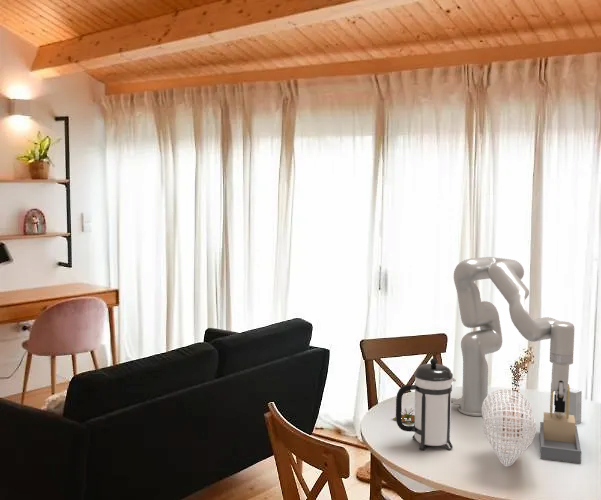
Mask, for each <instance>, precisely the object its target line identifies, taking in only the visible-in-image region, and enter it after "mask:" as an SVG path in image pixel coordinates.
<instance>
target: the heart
mask: <svg viewBox="0 0 601 500" xmlns="http://www.w3.org/2000/svg"><path fill="white" fill-rule="evenodd" d="M485 404H486V405H485ZM488 407H489V408H488ZM485 409H486V410H485ZM489 412H490V413H489ZM495 413H496V414H495ZM499 413H500V414H499ZM503 413H505V414H503ZM518 413H519V414H518ZM518 415H519V416H518ZM521 416H522V417H521ZM481 417H482V428H483V432H484V433H483V434H484V435H485V437H486V440H487V442H488V443H489V445H490V446H491V448H492V450H493V452H494V454H495V455H496V457H497V459H498V460H499V461H500V463H501V464H502V465H503V466H504V467H510V466H512V465H513V464H514V463H515V462H516V461H517V460H518V458H519V457H520V456H521V455H522V454H523V452H524V451H526V449H527V448H528V447H529V446H530V445H531V444H532V443H533V441H534V439H535V436H536V433H537V424H536V419H535V417H534V415H533V411H532V405H531V404H530V403H529V400H528V398H526V397H525V396H524V395H522V394H521V393H520V392H518V391H516V390H512V389H507V388H505V389H504V388H503V389H496V390H494V391H492V392H490V393H489V394H488V396H487V397H486V398H485V399H484V401H483V404H482V416H481ZM503 418H504V419H505V420H503ZM499 419H500V420H499ZM518 420H519V422H518ZM499 425H500V426H499ZM499 429H500V430H499ZM518 430H519V431H518ZM503 434H504V436H503ZM518 435H519V436H518ZM503 440H504V441H503Z"/></svg>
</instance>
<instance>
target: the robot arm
mask: <svg viewBox="0 0 601 500" xmlns="http://www.w3.org/2000/svg"><path fill="white" fill-rule="evenodd" d="M524 275H525V271H524V267H523V265H522V264H521V262H519V261H517V260H515V259H509V258H502V257H495V256H484V257H474V258H472V257H471V258H467V259H464V260H462V261H461V262H459V263H458V264H457V265H456V266H455V268H454V271H453V283H454V286H455V288H456V289H455V290H456V294H457V301H458V308H459V314H460V315H459V316H460V319H461V323H462V325H463V326H464V327H466V328H469V329H474V328H479V330H475V331H474V330H473V331H470V332H467V333H466V334H465V335H464V336H463V337H461V341H460V349H461V355H462V392H461V393H462V395H461V397H459V398H454V397H451V404H453V405H455V406H457V411H458V412H460V413H461V414H464V415H465V416H466V415H467V416H472V417H483V416H482V404H483V401H484V399H485V398H486V397H487V396H488V395H489V394H488V393H489V391H488V390H489V387H488V386H489V385H488V384H489V365H488V364H489V363H488V361H487V359H486V355H489V354H493V353H496V352H498V351H500V349H501V348H502V347H503V334H502V327H501V321H500V316H499V311H498V309H497V307H496V306H495V304H493V302H490V301H485V300H483V301H482V298H481V293H480V290H479V287H478V286H477V284H476V283H475V281H478V280H481V281H482V280H487V279H488V280H489V279H490V280H491V282H492V283H493V284H494V286H495V288H496V289H497V290H498V292H500V293H501V295H502V297H504V299H505V300H506V301H507V303H508V311H509V315H510V316H509V317H510V319H511V322H512V323H513V326H514V327H515V329H517V330H518V332H519V334H520V335H521V336H522V337H523V338H524V339H525V340H527V341H529V342H540V341H543V340H549V341H550V343H549V345H550V347H549V362H550V363H551V364H552V367H551V381H550V382H551V383H550V386H551V385H552V391H553V393H555V394H553V403H554V411H555V412H562V413H564V412H565V393H566V392H567V388H568V384H569V377H570V375H569V374H570V365H573V364H574V345H575V326H574V324H573V323H571V322H569V321H562V320H558V319H555V318H552V317H549V316H547V317H540V318H533V317H532V316H531V315H530V314H529V312H528V311H527V308H526V306H525V300H527V298H528V297H529V296H530V291H529V289H528V288H527V286H526V285H525V284H524V283H523V281H522V279H523V277H524ZM557 388H558V390H557ZM485 405H486V404H485ZM488 408H489V407H488ZM485 410H486V409H485ZM489 413H490V412H489Z"/></svg>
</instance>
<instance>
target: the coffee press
mask: <svg viewBox="0 0 601 500" xmlns="http://www.w3.org/2000/svg"><path fill="white" fill-rule="evenodd" d="M413 376H414V378H415V379H414V384H405V385H403V386H402V387H400V388H399V389H398V392H396V399H395V417H396V420H395V422H396V424H397V427H398V428H399V429H400V430H402V431H404V432H411V433H412V432H413V433H414V434H413V435H412V437H411V438H412V440H413V441H417V442H418V443H419V446H418V449H419V451H422V452H424V451H425V449H426V447H427V446H431V447H440V446H444V447H445V448H446V449H447V450H448V451H450V450H451V451H452V450H453V444H452V443H451V426H452V425H451V419H452V417H451V415H452V413H451V412H452V403H451V398H452V392H453V383H452V382H457V379H456V378H455V377H454V375H453V373H452V371H451V369H450V368H449V367H447V365H443V364H438V361H437V359H436V358H434V357H433V358H431V359H430V363H425V364H420V365H419V366H418V367H416V370H414V372H413ZM409 391H414V415H415V421H414V423H413V425H405V424H404V423H403V422H402V420H401V414H403V413H402V403H403V400H402V399H403V396H404V394H405V393H406V392H409Z"/></svg>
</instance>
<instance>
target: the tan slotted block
mask: <svg viewBox="0 0 601 500" xmlns="http://www.w3.org/2000/svg"><path fill="white" fill-rule="evenodd" d="M557 390H558V388H557ZM569 394H570V384H569V383H568V388H567V396H566V419H568V418H569ZM549 401H550V402H549V413H550V417H551V418H552V413H553V410H554V409H553V403H554V392H553V391H552V385H551V384H550V399H549ZM560 413H561V412H559V414H558V418H560Z"/></svg>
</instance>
